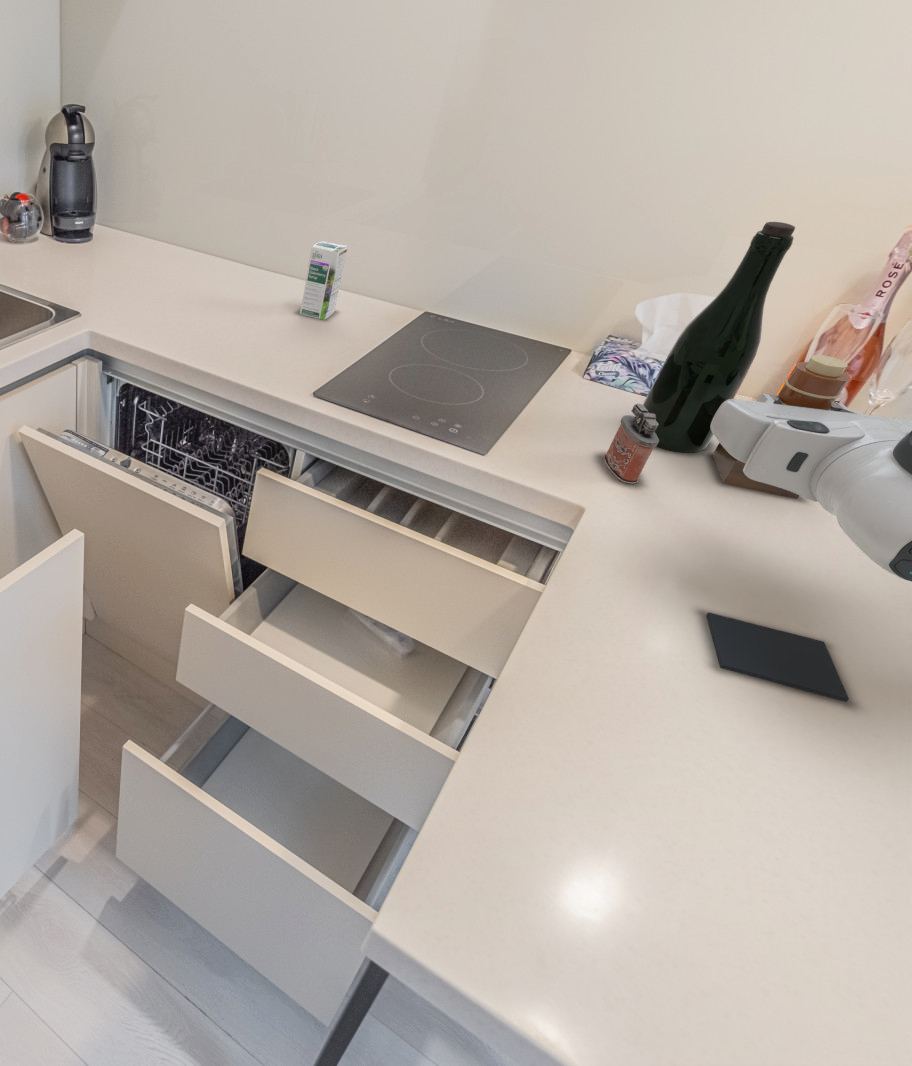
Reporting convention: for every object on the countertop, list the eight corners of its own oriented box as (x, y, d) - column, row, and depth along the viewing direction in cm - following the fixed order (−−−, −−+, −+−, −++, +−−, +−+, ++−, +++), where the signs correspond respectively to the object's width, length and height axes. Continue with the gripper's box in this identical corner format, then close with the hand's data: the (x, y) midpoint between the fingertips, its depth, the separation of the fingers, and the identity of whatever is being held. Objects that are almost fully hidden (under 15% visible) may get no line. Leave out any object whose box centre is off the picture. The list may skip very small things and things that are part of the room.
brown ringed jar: (778, 438, 92) (833, 351, 85) (810, 460, 88) (871, 371, 81) (737, 438, 91) (789, 350, 85) (768, 460, 87) (825, 370, 81)
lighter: (641, 488, 109) (673, 427, 103) (616, 486, 109) (647, 425, 103) (620, 460, 115) (649, 400, 109) (596, 457, 116) (624, 398, 110)
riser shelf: (779, 471, 114) (802, 436, 110) (795, 502, 107) (819, 465, 103) (710, 457, 116) (730, 423, 113) (721, 486, 110) (742, 450, 106)
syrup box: (298, 316, 160) (310, 245, 152) (309, 308, 164) (322, 239, 155) (323, 322, 158) (337, 251, 149) (334, 314, 162) (349, 244, 153)
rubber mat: (818, 647, 84) (824, 641, 83) (843, 705, 77) (849, 699, 76) (703, 618, 87) (708, 611, 87) (717, 671, 81) (722, 664, 80)
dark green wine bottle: (720, 449, 119) (848, 230, 99) (674, 461, 115) (797, 238, 95) (659, 419, 126) (767, 210, 106) (614, 429, 123) (717, 216, 103)
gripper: (1003, 453, 72) (919, 391, 83) (761, 423, 76) (711, 367, 87) (957, 507, 76) (883, 441, 87) (729, 476, 80) (685, 416, 91)
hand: (795, 404), depth 87 cm, fingers closed on brown ringed jar, 5 cm apart
